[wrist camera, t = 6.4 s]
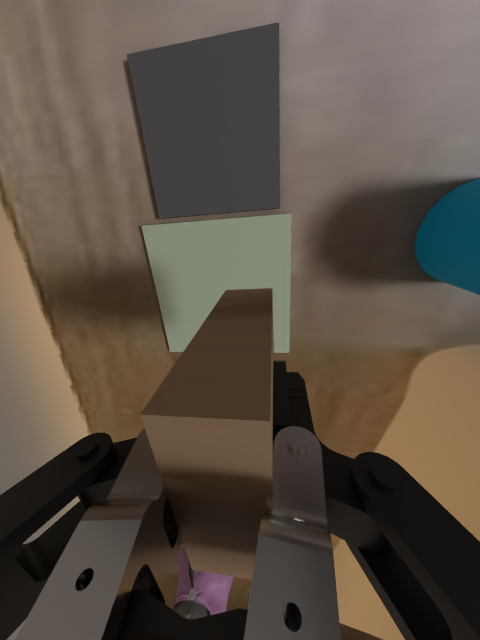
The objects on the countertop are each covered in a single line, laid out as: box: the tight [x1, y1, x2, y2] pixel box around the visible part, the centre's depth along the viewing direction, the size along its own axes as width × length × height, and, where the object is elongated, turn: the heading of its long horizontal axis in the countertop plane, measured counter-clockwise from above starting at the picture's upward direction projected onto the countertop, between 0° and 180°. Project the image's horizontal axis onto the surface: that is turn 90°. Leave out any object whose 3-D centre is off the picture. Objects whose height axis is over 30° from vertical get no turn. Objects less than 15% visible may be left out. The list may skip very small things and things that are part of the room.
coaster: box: [127, 23, 280, 218], centre depth 18 cm, size 11×11×1 cm
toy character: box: [174, 546, 233, 620], centre depth 35 cm, size 12×10×20 cm
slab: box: [140, 288, 274, 579], centre depth 10 cm, size 6×3×9 cm, turn 5°
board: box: [141, 213, 291, 353], centre depth 23 cm, size 14×14×1 cm
